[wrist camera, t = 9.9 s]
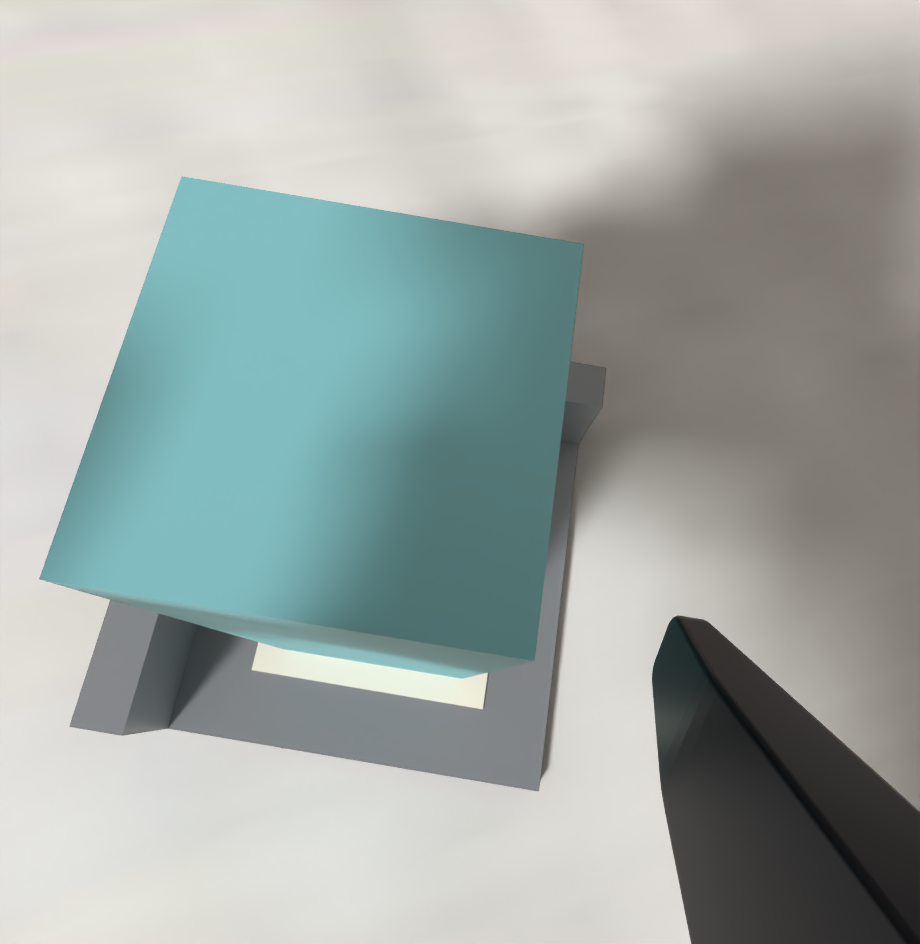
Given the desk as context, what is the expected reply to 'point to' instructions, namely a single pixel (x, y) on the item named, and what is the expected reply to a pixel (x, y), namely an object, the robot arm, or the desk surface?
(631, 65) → the desk surface
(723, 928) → the robot arm
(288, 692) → the tray
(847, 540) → the desk surface
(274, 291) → the block
